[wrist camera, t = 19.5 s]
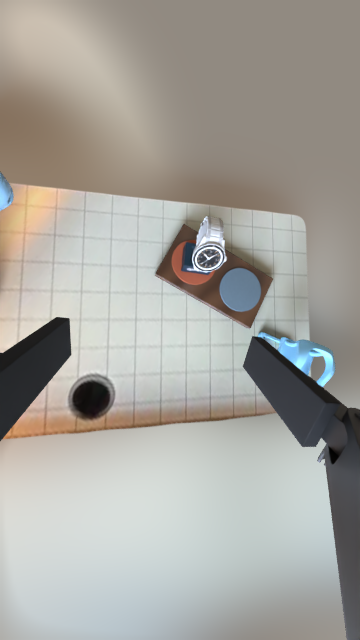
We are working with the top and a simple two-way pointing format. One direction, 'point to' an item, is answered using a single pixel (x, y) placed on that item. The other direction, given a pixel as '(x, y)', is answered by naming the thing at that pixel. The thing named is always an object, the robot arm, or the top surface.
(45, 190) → the top surface
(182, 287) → the desk board
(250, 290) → the slate pad
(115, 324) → the top surface
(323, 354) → the chair
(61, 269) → the top surface
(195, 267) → the watch
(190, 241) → the terracotta pad
